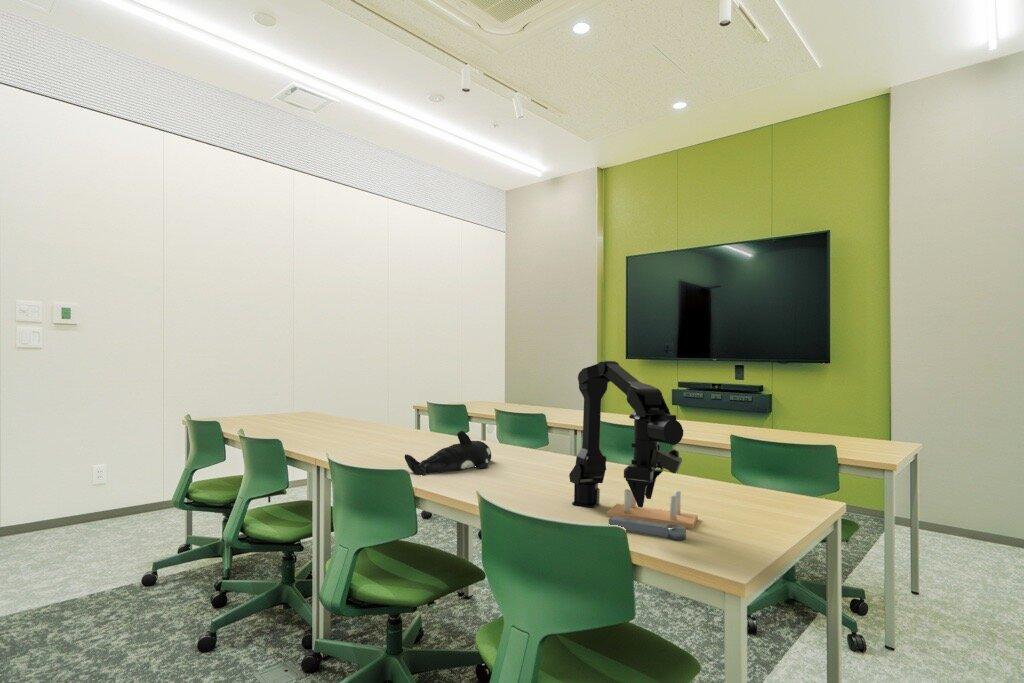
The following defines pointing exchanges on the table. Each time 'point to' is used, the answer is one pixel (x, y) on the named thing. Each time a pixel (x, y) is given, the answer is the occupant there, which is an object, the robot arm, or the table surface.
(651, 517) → the peg rack
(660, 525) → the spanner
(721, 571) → the table surface
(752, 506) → the table surface
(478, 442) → the orca plush
